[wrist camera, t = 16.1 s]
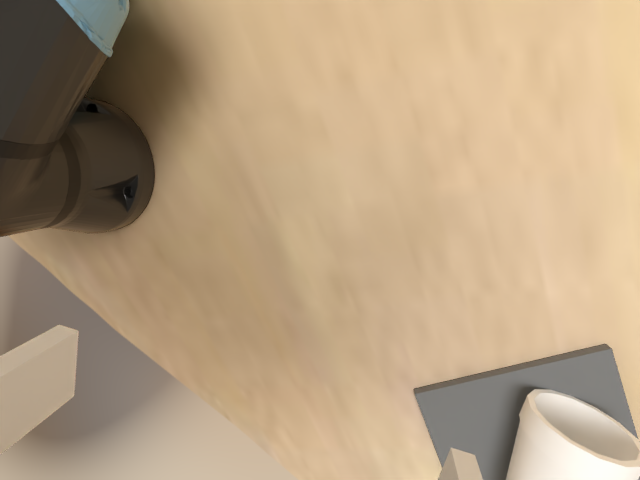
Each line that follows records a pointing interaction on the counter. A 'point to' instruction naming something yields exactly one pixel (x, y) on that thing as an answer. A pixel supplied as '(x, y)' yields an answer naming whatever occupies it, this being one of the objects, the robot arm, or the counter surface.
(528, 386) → the mat
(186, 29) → the counter surface
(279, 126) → the counter surface
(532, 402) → the foam cup
